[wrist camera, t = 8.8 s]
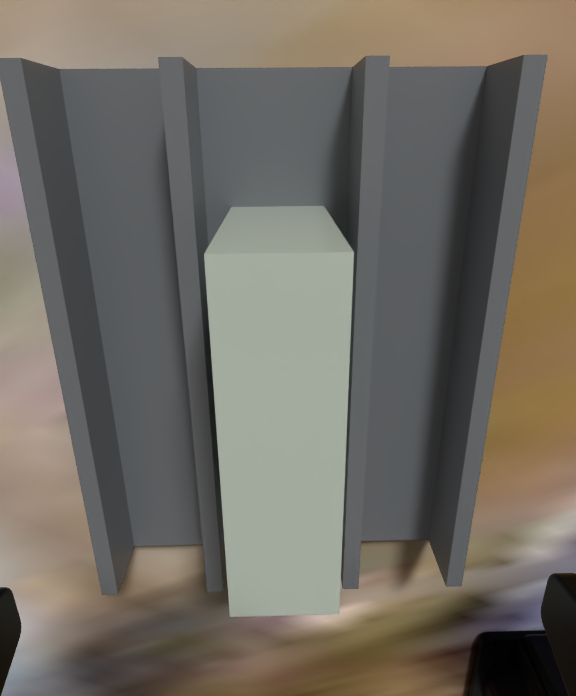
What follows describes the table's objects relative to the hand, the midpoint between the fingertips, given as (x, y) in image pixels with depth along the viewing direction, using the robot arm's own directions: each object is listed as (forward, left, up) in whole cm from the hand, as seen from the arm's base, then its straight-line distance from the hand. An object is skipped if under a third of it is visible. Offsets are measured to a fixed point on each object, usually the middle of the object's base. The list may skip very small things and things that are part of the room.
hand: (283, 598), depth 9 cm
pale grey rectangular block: (0, 0, -11) cm, 11 cm away
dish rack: (0, 0, -12) cm, 12 cm away
